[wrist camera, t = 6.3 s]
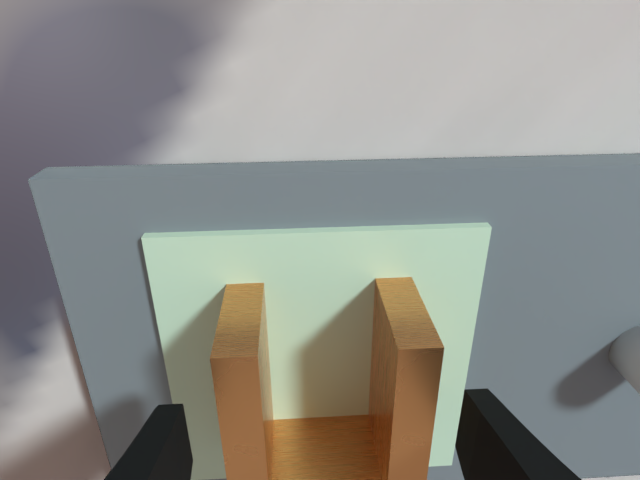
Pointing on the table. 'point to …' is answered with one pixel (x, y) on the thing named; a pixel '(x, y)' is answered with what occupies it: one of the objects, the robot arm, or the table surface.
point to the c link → (338, 431)
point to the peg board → (360, 289)
